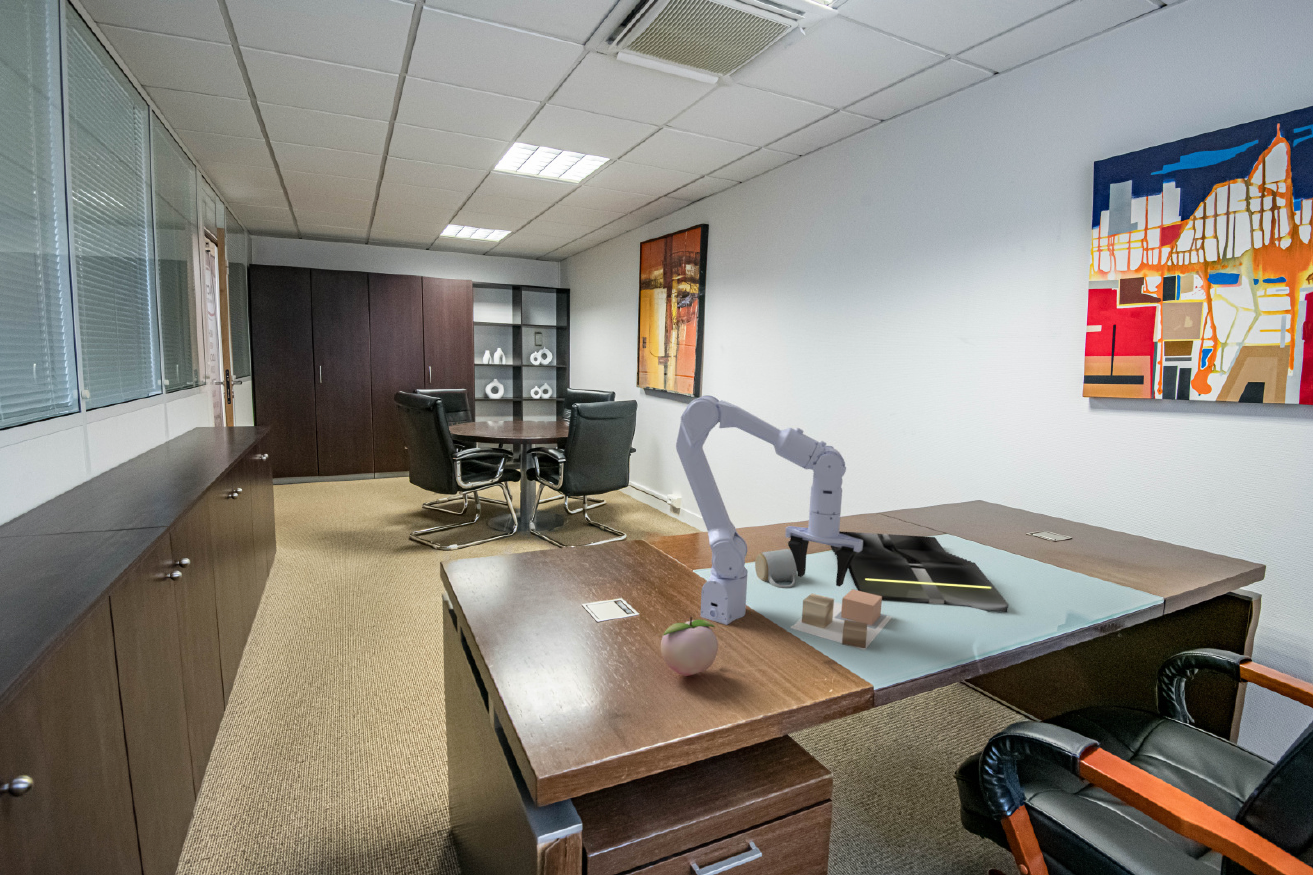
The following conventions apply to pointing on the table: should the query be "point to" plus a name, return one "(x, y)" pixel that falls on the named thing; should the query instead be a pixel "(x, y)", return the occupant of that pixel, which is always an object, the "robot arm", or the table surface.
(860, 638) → the block
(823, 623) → the maple block
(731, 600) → the robot arm
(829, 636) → the mat
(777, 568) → the ceramic mug
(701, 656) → the decorative fruit
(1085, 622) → the table surface
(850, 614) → the terracotta block
